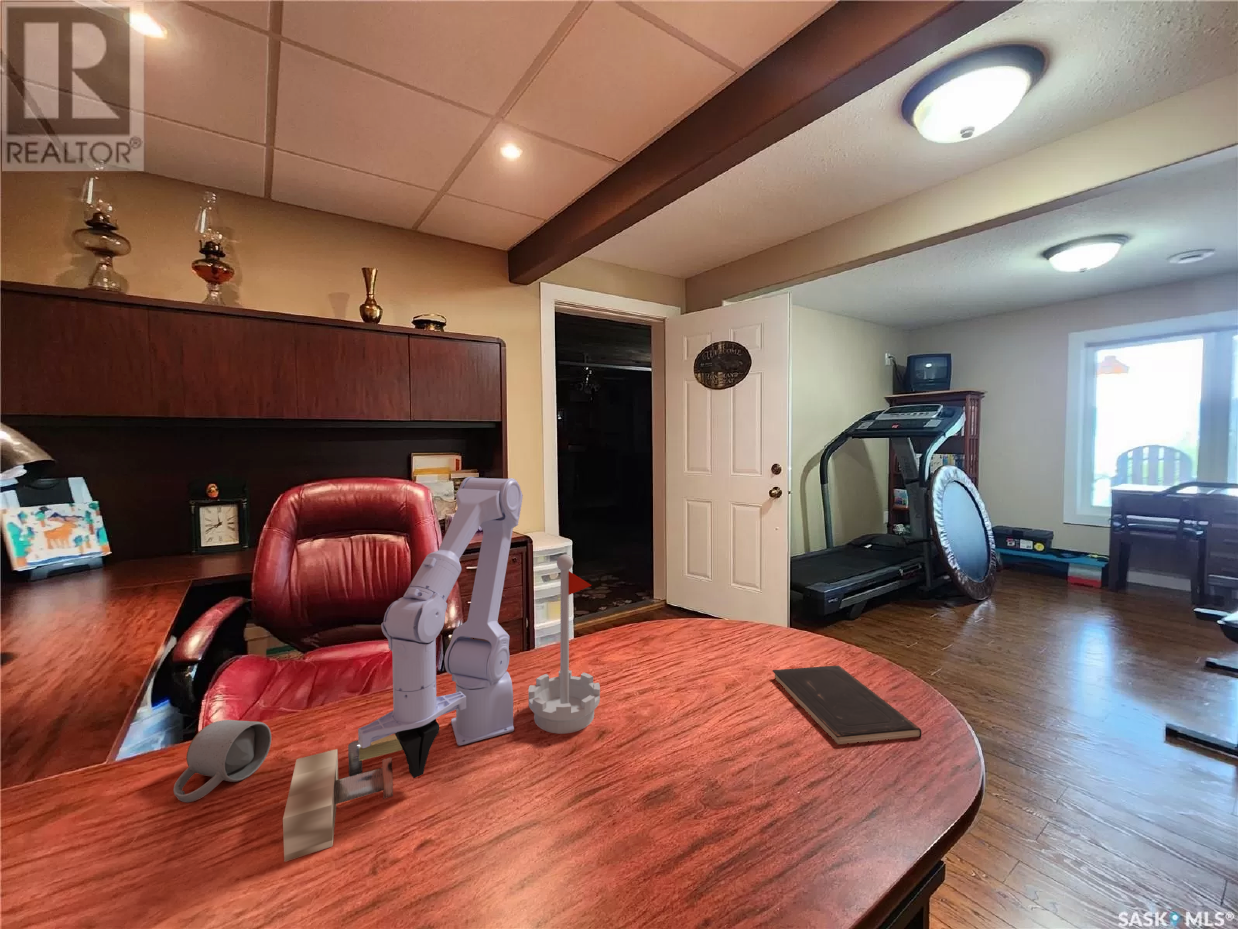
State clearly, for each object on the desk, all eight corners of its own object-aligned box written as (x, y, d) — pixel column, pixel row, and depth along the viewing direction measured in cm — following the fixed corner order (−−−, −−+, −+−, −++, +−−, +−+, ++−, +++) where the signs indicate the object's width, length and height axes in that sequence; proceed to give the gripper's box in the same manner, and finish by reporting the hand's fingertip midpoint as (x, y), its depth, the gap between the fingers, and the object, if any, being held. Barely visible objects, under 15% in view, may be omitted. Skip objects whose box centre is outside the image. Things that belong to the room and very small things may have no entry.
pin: (391, 781, 71) (391, 750, 71) (393, 804, 67) (392, 770, 67) (325, 801, 67) (324, 767, 67) (321, 825, 63) (320, 790, 63)
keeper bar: (419, 752, 78) (418, 725, 78) (420, 759, 77) (419, 731, 76) (349, 771, 74) (348, 742, 74) (348, 779, 72) (347, 749, 72)
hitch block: (338, 784, 71) (337, 749, 71) (332, 846, 60) (331, 804, 60) (297, 795, 69) (296, 759, 69) (284, 862, 58) (282, 819, 58)
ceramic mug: (231, 752, 78) (228, 706, 78) (274, 759, 77) (271, 712, 76) (157, 801, 68) (153, 749, 67) (204, 810, 66) (200, 757, 66)
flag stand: (515, 729, 85) (514, 560, 83) (547, 692, 97) (547, 544, 96) (584, 743, 81) (585, 567, 79) (609, 703, 94) (610, 549, 92)
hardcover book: (836, 749, 81) (837, 735, 81) (772, 680, 104) (772, 669, 104) (921, 740, 84) (922, 727, 84) (840, 675, 106) (840, 665, 106)
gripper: (452, 656, 77) (452, 739, 78) (351, 688, 67) (353, 781, 68) (472, 673, 72) (472, 761, 73) (366, 709, 62) (368, 810, 63)
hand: (416, 772), depth 70 cm, fingers closed
